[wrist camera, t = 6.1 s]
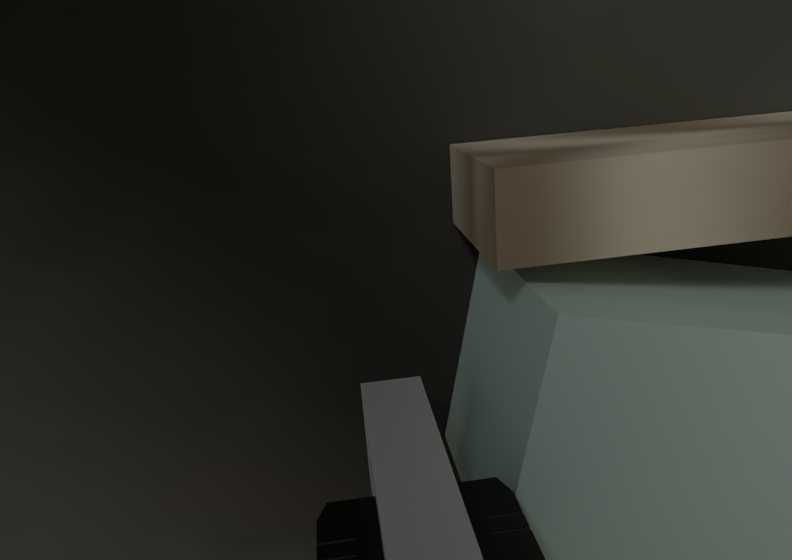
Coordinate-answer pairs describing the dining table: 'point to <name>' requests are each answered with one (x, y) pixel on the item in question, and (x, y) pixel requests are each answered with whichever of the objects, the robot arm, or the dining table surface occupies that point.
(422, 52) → the dining table surface
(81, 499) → the dining table surface
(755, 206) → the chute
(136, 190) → the dining table surface
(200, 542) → the dining table surface
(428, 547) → the robot arm
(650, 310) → the block
